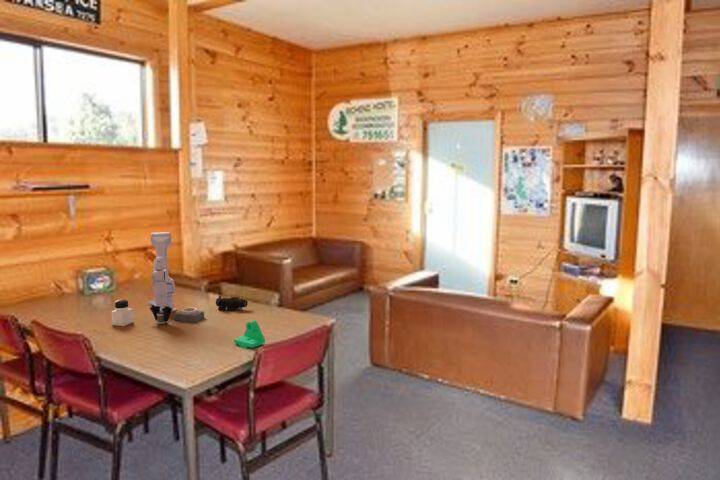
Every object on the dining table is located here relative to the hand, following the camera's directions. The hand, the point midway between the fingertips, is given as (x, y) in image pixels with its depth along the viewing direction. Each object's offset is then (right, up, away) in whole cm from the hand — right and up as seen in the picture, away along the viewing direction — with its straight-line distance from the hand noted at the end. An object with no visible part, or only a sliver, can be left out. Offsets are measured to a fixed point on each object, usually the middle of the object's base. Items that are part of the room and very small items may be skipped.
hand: (162, 320), depth 258 cm
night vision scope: (+29, +2, +25) cm, 38 cm away
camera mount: (+50, -6, -30) cm, 59 cm away
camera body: (+11, 0, +8) cm, 14 cm away
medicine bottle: (-20, -2, +1) cm, 20 cm away
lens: (0, -2, 0) cm, 2 cm away
